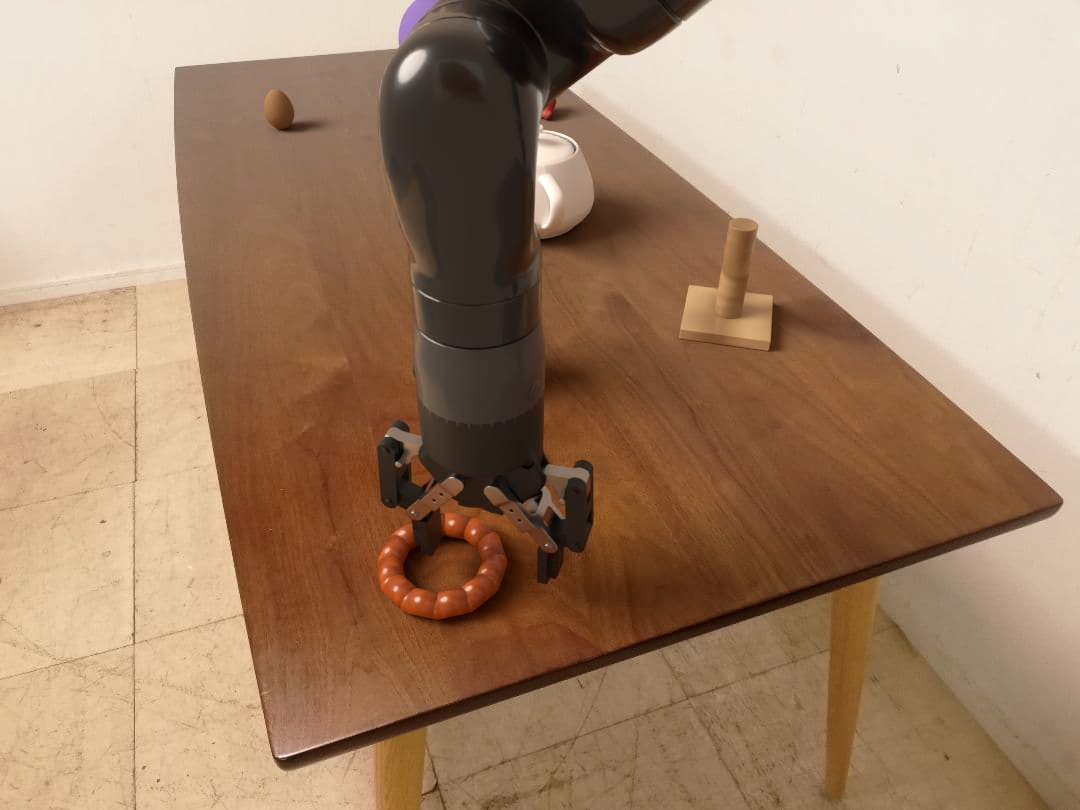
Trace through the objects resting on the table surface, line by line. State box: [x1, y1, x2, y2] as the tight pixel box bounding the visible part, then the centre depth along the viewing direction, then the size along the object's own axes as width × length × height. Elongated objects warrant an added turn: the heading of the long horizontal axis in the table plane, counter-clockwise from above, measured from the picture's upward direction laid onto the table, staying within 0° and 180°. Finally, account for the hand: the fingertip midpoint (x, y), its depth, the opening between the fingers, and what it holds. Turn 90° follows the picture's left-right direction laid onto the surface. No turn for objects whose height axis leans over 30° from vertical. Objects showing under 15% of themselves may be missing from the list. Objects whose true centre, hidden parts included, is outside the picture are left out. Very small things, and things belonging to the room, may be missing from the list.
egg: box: [263, 88, 295, 130], centre depth 126 cm, size 4×4×6 cm
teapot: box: [534, 123, 595, 240], centre depth 101 cm, size 25×16×12 cm, turn 16°
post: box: [678, 217, 774, 352], centre depth 83 cm, size 9×9×11 cm
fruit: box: [541, 98, 557, 121], centre depth 131 cm, size 4×6×5 cm
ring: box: [376, 511, 508, 621], centre depth 60 cm, size 9×9×2 cm
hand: (488, 560), depth 58 cm, fingers open, 8 cm apart
